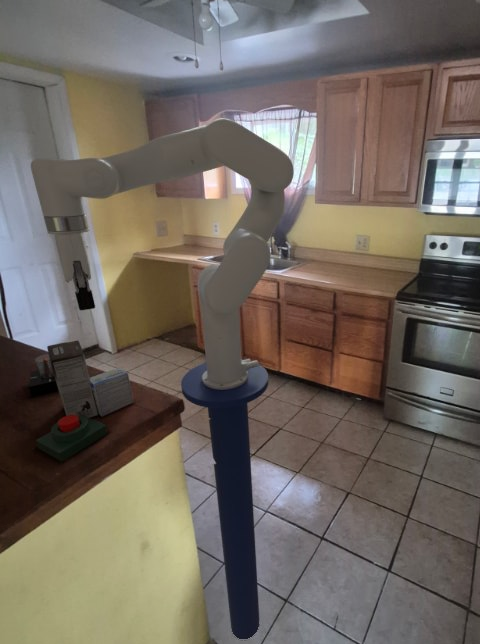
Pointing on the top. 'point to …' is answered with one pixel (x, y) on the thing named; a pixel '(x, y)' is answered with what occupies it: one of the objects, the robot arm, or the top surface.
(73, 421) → the light button
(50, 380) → the dial panel
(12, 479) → the top surface
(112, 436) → the top surface
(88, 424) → the switch block
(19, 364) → the top surface
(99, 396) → the medicine box
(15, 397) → the top surface
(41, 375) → the dial
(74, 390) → the coffee box
